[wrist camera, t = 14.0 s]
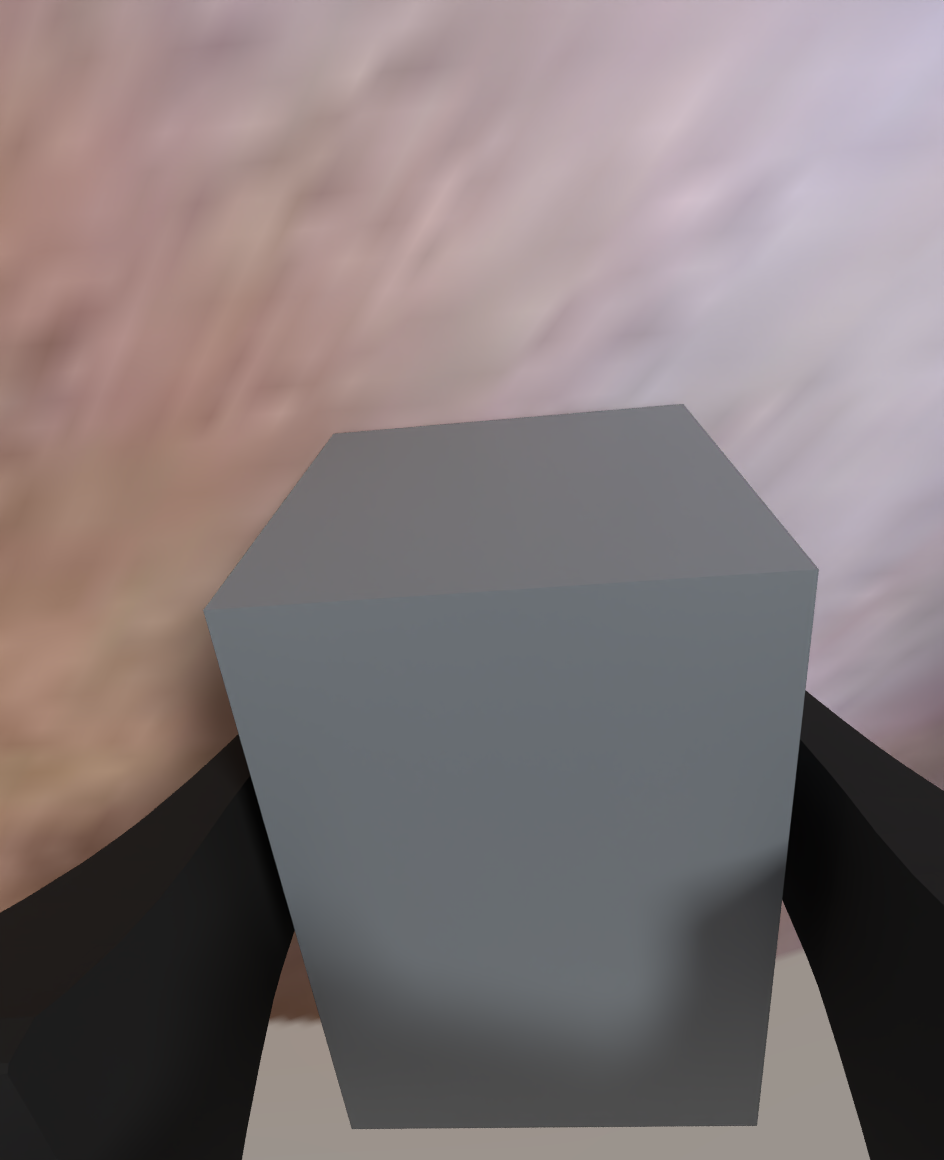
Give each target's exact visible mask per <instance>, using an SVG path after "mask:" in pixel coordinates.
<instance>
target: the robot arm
mask: <svg viewBox="0 0 944 1160" xmlns="http://www.w3.org/2000/svg"><path fill="white" fill-rule="evenodd" d="M782 900H783V903H784V905H785V907H786V910H787V912H788V914H789V916H790V919H791V921H792V923H793V926H794V928H795V930H796V933H797V935H798V937H799V940H800V942H801V944H802V947H803V949H804V951H805V954H806V956H807V958H808V961H809V964H810V966H811V969H812V972H813V974H814V976H815V979H816V982H817V984H818V987H819V991H820V994H821V997H822V1000H823V1003H824V1006H825V1009H826V1012H827V1016H828V1019H829V1022H830V1025H831V1028H832V1032H833V1034H834V1038H835V1041H836V1044H837V1047H838V1051H839V1054H840V1057H841V1061H842V1064H843V1067H844V1071H845V1074H846V1077H847V1081H848V1084H849V1087H850V1091H851V1094H852V1097H853V1101H854V1104H855V1108H856V1111H857V1114H858V1118H859V1121H860V1124H861V1128H862V1132H863V1135H864V1139H865V1142H866V1146H867V1150H868V1153H869V1157H870V1160H944V791H943V790H941V789H940V788H938V787H937V786H935V785H933V784H932V783H930V782H929V781H927V780H926V779H924V778H923V777H921V776H920V775H918V774H917V773H915V772H914V771H912V770H911V769H909V768H908V767H906V766H905V765H903V764H902V763H900V762H899V761H898V760H896V759H895V758H893V757H892V756H891V755H889V754H888V753H886V752H885V751H883V750H882V749H881V748H879V747H878V746H877V745H875V744H874V743H872V742H871V741H870V740H868V739H867V738H866V737H864V736H863V735H862V734H860V733H859V732H858V731H856V730H855V729H854V728H853V727H851V726H850V725H849V724H847V723H846V722H845V721H843V720H842V719H841V718H840V717H838V716H837V715H836V714H835V713H833V712H832V711H831V710H829V709H828V708H827V707H826V706H824V705H823V704H822V703H821V702H819V701H818V700H817V699H816V698H814V697H813V696H812V695H811V694H809V693H808V692H807V691H806V690H805V697H804V706H803V715H802V724H801V733H800V742H799V751H798V760H797V769H796V778H795V787H794V796H793V805H792V814H791V823H790V832H789V841H788V850H787V859H786V868H785V877H784V886H783V895H782ZM294 930H295V929H294V925H293V922H292V918H291V915H290V911H289V908H288V904H287V901H286V897H285V894H284V890H283V887H282V883H281V880H280V876H279V873H278V869H277V866H276V862H275V859H274V855H273V852H272V848H271V845H270V841H269V838H268V834H267V831H266V827H265V824H264V820H263V817H262V813H261V810H260V806H259V803H258V800H257V796H256V793H255V789H254V786H253V782H252V779H251V775H250V772H249V768H248V765H247V761H246V758H245V754H244V751H243V747H242V744H241V740H240V737H239V734H238V735H237V736H236V737H235V738H234V739H233V740H232V741H231V742H230V743H229V744H228V745H227V746H226V747H224V748H223V749H222V750H221V751H220V752H219V753H218V754H217V755H216V756H215V757H214V758H213V759H212V760H211V761H209V762H208V763H207V764H206V765H205V766H204V767H203V768H202V769H201V770H200V771H199V772H198V773H196V774H195V775H194V776H193V777H192V778H191V779H190V780H188V781H187V782H186V783H185V784H184V785H183V786H181V787H180V788H179V789H178V790H177V791H175V792H174V793H173V794H172V795H171V796H170V797H168V798H167V799H166V800H165V801H164V802H163V803H161V804H160V805H159V806H158V807H157V808H155V809H154V810H153V811H152V812H151V813H150V814H148V815H147V816H146V817H145V818H143V819H142V820H141V821H140V822H138V823H137V824H136V825H134V826H133V827H132V828H130V829H129V830H128V831H126V832H125V833H124V834H122V835H121V836H120V837H118V838H117V839H116V840H114V841H113V842H111V843H110V844H109V845H107V846H106V847H104V848H103V849H102V850H100V851H99V852H97V853H96V854H95V855H93V856H92V857H90V858H89V859H87V860H86V861H84V862H83V863H81V864H80V865H78V866H77V867H75V868H73V869H72V870H70V871H69V872H67V873H65V874H64V875H62V876H61V877H59V878H57V879H56V880H54V881H53V882H51V883H49V884H48V885H46V886H45V887H43V888H41V889H40V890H38V891H37V892H35V893H33V894H32V895H30V896H29V897H27V898H25V899H24V900H22V901H20V902H18V903H17V904H15V905H13V906H11V907H10V908H8V909H6V910H4V911H2V912H1V913H0V1160H242V1155H243V1150H244V1144H245V1138H246V1132H247V1127H248V1121H249V1116H250V1111H251V1106H252V1101H253V1096H254V1091H255V1085H256V1080H257V1075H258V1069H259V1065H260V1060H261V1055H262V1050H263V1046H264V1041H265V1036H266V1032H267V1027H268V1023H269V1018H270V1013H271V1009H272V1004H273V999H274V996H275V992H276V989H277V985H278V981H279V978H280V974H281V971H282V967H283V964H284V961H285V958H286V955H287V952H288V949H289V946H290V943H291V940H292V937H293V933H294Z"/></svg>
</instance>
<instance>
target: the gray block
mask: <svg viewBox="0 0 944 1160" xmlns="http://www.w3.org/2000/svg"><path fill="white" fill-rule="evenodd" d="M818 571H819V569H818V568H817V567H816V565H815V564H814V563H813V562H812V561H811V559H810V558H809V557H808V556H807V554H806V553H805V552H804V551H803V550H802V548H801V547H800V546H799V545H798V543H797V542H796V541H795V540H794V539H793V537H792V536H791V535H790V534H789V533H788V531H787V530H786V529H785V528H784V526H783V525H782V524H781V523H780V522H779V520H778V519H777V518H776V517H775V515H774V514H773V513H772V512H771V511H770V509H769V508H768V507H767V506H766V504H765V503H764V502H763V501H762V500H761V498H760V497H759V496H758V495H757V493H756V492H755V491H754V490H753V489H752V487H751V486H750V485H749V484H748V482H747V481H746V480H745V479H744V478H743V476H742V475H741V474H740V473H739V471H738V470H737V469H736V468H735V467H734V465H733V464H732V463H731V462H730V460H729V459H728V458H727V457H726V456H725V454H724V453H723V452H722V451H721V450H720V448H719V447H718V446H717V445H716V443H715V442H714V441H713V440H712V439H711V437H710V436H709V435H708V434H707V432H706V431H705V430H704V429H703V428H702V426H701V425H700V424H699V423H698V421H697V420H696V419H695V418H694V417H693V415H692V414H691V413H690V412H689V410H688V409H687V408H686V407H685V406H684V404H679V405H667V406H655V407H643V408H632V409H620V410H608V411H596V412H584V413H573V414H561V415H549V416H537V417H526V418H514V419H502V420H490V421H479V422H467V423H455V424H443V425H431V426H420V427H408V428H396V429H384V430H373V431H361V432H349V433H337V434H333V435H332V437H331V438H330V439H329V441H328V442H327V443H326V445H325V446H324V448H323V449H322V450H321V452H320V453H319V454H318V456H317V457H316V458H315V460H314V461H313V462H312V464H311V465H310V467H309V468H308V469H307V471H306V472H305V473H304V475H303V476H302V477H301V479H300V480H299V481H298V483H297V484H296V485H295V487H294V488H293V490H292V491H291V492H290V494H289V495H288V496H287V498H286V499H285V500H284V502H283V503H282V504H281V506H280V507H279V508H278V510H277V511H276V513H275V514H274V515H273V517H272V518H271V519H270V521H269V522H268V523H267V525H266V526H265V527H264V529H263V530H262V531H261V533H260V534H259V536H258V537H257V538H256V540H255V541H254V542H253V544H252V545H251V546H250V548H249V549H248V550H247V552H246V553H245V555H244V556H243V557H242V559H241V560H240V561H239V563H238V564H237V565H236V567H235V568H234V569H233V571H232V572H231V573H230V575H229V576H228V578H227V579H226V580H225V582H224V583H223V584H222V586H221V587H220V588H219V590H218V591H217V592H216V594H215V595H214V596H213V598H212V599H211V601H210V602H209V603H208V605H207V606H206V607H205V609H204V610H203V611H204V614H205V618H206V621H207V625H208V628H209V632H210V635H211V639H212V642H213V646H214V649H215V653H216V656H217V660H218V663H219V667H220V670H221V674H222V677H223V681H224V684H225V688H226V691H227V695H228V698H229V702H230V705H231V709H232V712H233V716H234V719H235V723H236V726H237V730H238V733H239V737H240V740H241V744H242V747H243V751H244V754H245V758H246V761H247V765H248V768H249V772H250V775H251V779H252V782H253V786H254V789H255V793H256V796H257V800H258V803H259V806H260V810H261V813H262V817H263V820H264V824H265V827H266V831H267V834H268V838H269V841H270V845H271V848H272V852H273V855H274V859H275V862H276V866H277V869H278V873H279V876H280V880H281V883H282V887H283V890H284V894H285V897H286V901H287V904H288V908H289V911H290V915H291V918H292V922H293V925H294V929H295V932H296V936H297V939H298V943H299V946H300V950H301V953H302V957H303V960H304V964H305V967H306V971H307V974H308V978H309V981H310V985H311V988H312V992H313V995H314V999H315V1002H316V1005H317V1009H318V1012H319V1016H320V1019H321V1023H322V1026H323V1030H324V1033H325V1037H326V1040H327V1044H328V1047H329V1050H330V1054H331V1058H332V1061H333V1065H334V1068H335V1071H336V1075H337V1079H338V1082H339V1086H340V1089H341V1093H342V1096H343V1100H344V1103H345V1106H346V1110H347V1113H348V1117H349V1120H350V1124H351V1128H352V1129H404V1128H524V1127H525V1128H526V1127H527V1128H529V1127H647V1126H757V1119H758V1111H759V1102H760V1093H761V1083H762V1075H763V1066H764V1057H765V1048H766V1039H767V1030H768V1021H769V1012H770V1003H771V993H772V985H773V976H774V967H775V958H776V949H777V940H778V931H779V922H780V913H781V904H782V895H783V886H784V877H785V868H786V859H787V850H788V841H789V832H790V823H791V814H792V805H793V796H794V787H795V778H796V769H797V760H798V751H799V742H800V733H801V724H802V715H803V706H804V697H805V688H806V679H807V670H808V661H809V652H810V643H811V634H812V625H813V616H814V607H815V598H816V589H817V580H818Z"/></svg>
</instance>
